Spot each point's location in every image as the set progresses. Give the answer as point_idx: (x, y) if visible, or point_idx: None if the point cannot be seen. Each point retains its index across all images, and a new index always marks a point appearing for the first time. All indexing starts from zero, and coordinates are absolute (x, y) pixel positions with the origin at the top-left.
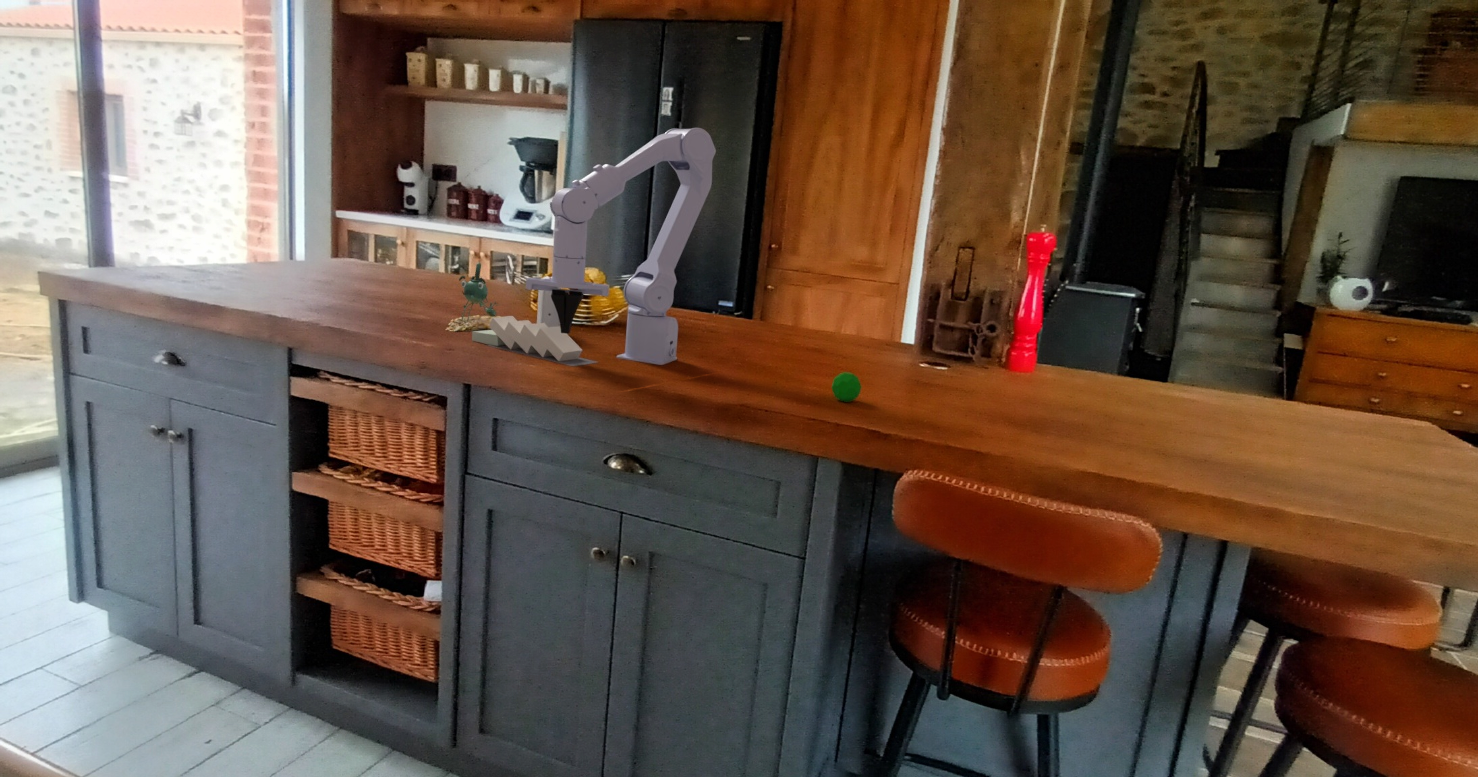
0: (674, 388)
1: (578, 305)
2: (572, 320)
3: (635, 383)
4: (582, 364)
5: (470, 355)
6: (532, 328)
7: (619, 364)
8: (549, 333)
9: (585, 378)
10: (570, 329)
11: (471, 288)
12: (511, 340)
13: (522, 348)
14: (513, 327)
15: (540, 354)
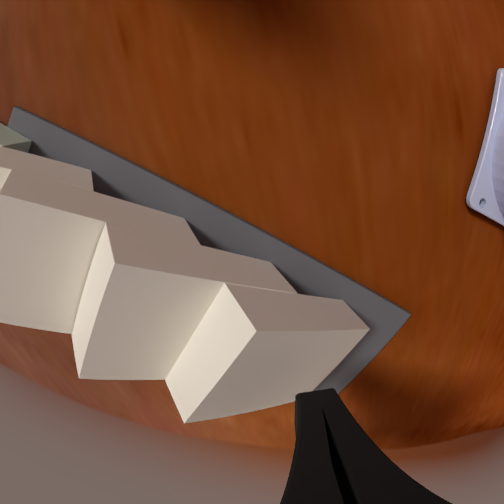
0: (488, 405)
1: (417, 495)
2: (359, 430)
3: (443, 419)
4: (359, 370)
5: (39, 366)
6: (118, 363)
7: (461, 281)
8: (233, 404)
9: None
10: (338, 397)
11: None
12: None
13: None
14: (26, 324)
15: None
